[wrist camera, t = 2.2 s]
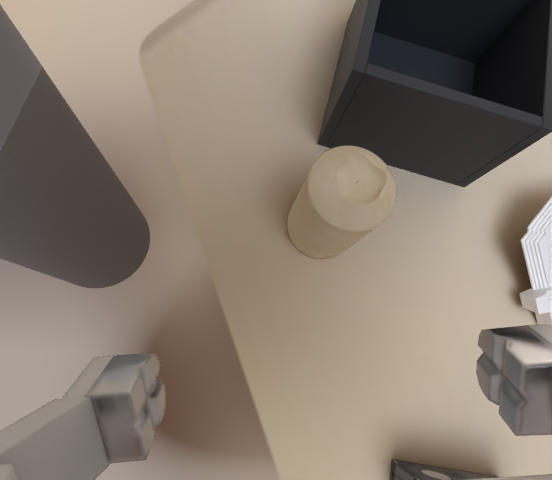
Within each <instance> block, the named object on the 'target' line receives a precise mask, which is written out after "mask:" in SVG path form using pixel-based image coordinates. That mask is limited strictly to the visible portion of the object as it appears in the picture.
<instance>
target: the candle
mask: <svg viewBox="0 0 552 480" xmlns="http://www.w3.org/2000/svg"><path fill="white" fill-rule="evenodd" d="M395 202H396V184H395V180H394V177H393V175H392V173H391V171H390V169H389V168H388V166H387V165H386V164H385V163H384V161H383V160H382V159H381V158H379V157H378V156H377V155H375V154H374V153H372V152H371V151H369V150H366V149H364V148H361V147H357V146H339V147H335V148H332V149H330V150H328V151H326V152H324V153H323V154H322V155H320V156H319V157H318V158H317V160H316V161H315V162H314V164H313V166H312V167H311V169H310V171H309V173H308V175H307V177H306V179H305V181H304V183H303V185H302V187H301V189H300V191H299V193H298V195H297V197H296V199H295V201H294V203H293V205H292V207H291V210H290V212H289V215H288V219H287V229H288V234H289V237H290V239H291V241H292V243H293V244H294V245H295V247H296V248H297V249H298V250H299V251H301V252H302V253H303V254H305V255H307V256H310V257H313V258H318V259H326V258H331V257H334V256H336V255H338V254H340V253H342V252H343V251H345V250H346V249H347V248H349V247H350V246H351V245H353V244H354V243H355V242H357V241H358V240H360V239H361V238H362V237H364V236H365V235H366V234H368V233H369V232H370V231H372V230H373V229H374V228H376V227H377V226H378V225H380V224H381V223H382V222H383V221H385V220H386V219H387V217H388V216H389V215H390V213H391V212H392V210H393V208H394V205H395Z"/></svg>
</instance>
